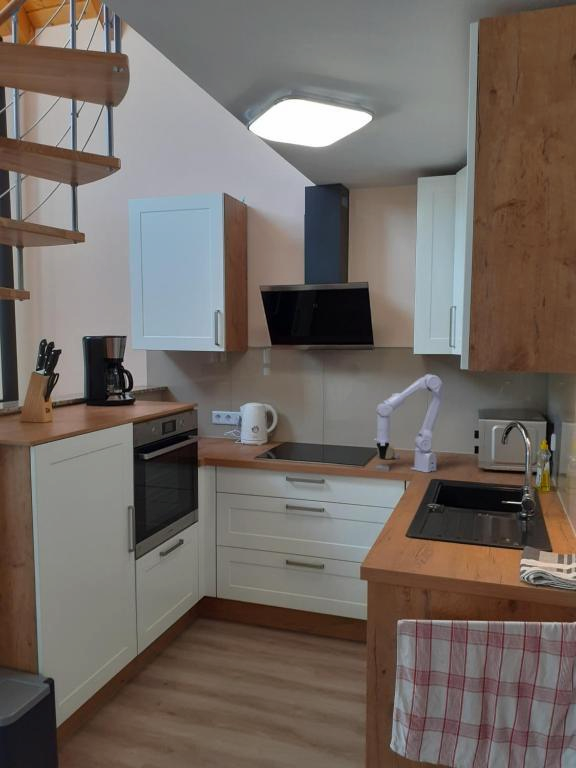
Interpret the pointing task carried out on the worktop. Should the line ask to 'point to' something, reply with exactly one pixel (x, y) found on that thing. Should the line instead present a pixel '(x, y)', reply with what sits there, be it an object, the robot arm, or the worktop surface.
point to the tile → (382, 468)
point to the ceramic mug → (390, 453)
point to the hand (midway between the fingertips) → (382, 458)
